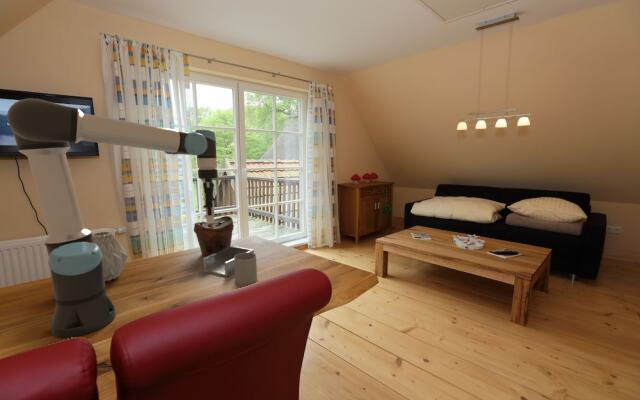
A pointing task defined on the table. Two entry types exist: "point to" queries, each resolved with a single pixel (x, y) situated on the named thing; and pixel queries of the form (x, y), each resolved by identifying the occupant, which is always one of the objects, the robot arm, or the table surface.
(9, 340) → the table surface
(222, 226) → the case
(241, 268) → the cup
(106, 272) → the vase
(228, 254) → the silver open box
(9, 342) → the table surface
